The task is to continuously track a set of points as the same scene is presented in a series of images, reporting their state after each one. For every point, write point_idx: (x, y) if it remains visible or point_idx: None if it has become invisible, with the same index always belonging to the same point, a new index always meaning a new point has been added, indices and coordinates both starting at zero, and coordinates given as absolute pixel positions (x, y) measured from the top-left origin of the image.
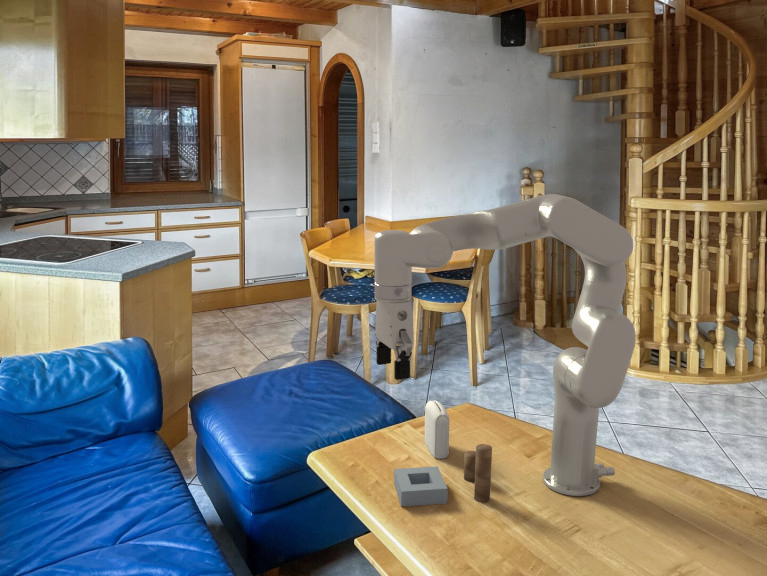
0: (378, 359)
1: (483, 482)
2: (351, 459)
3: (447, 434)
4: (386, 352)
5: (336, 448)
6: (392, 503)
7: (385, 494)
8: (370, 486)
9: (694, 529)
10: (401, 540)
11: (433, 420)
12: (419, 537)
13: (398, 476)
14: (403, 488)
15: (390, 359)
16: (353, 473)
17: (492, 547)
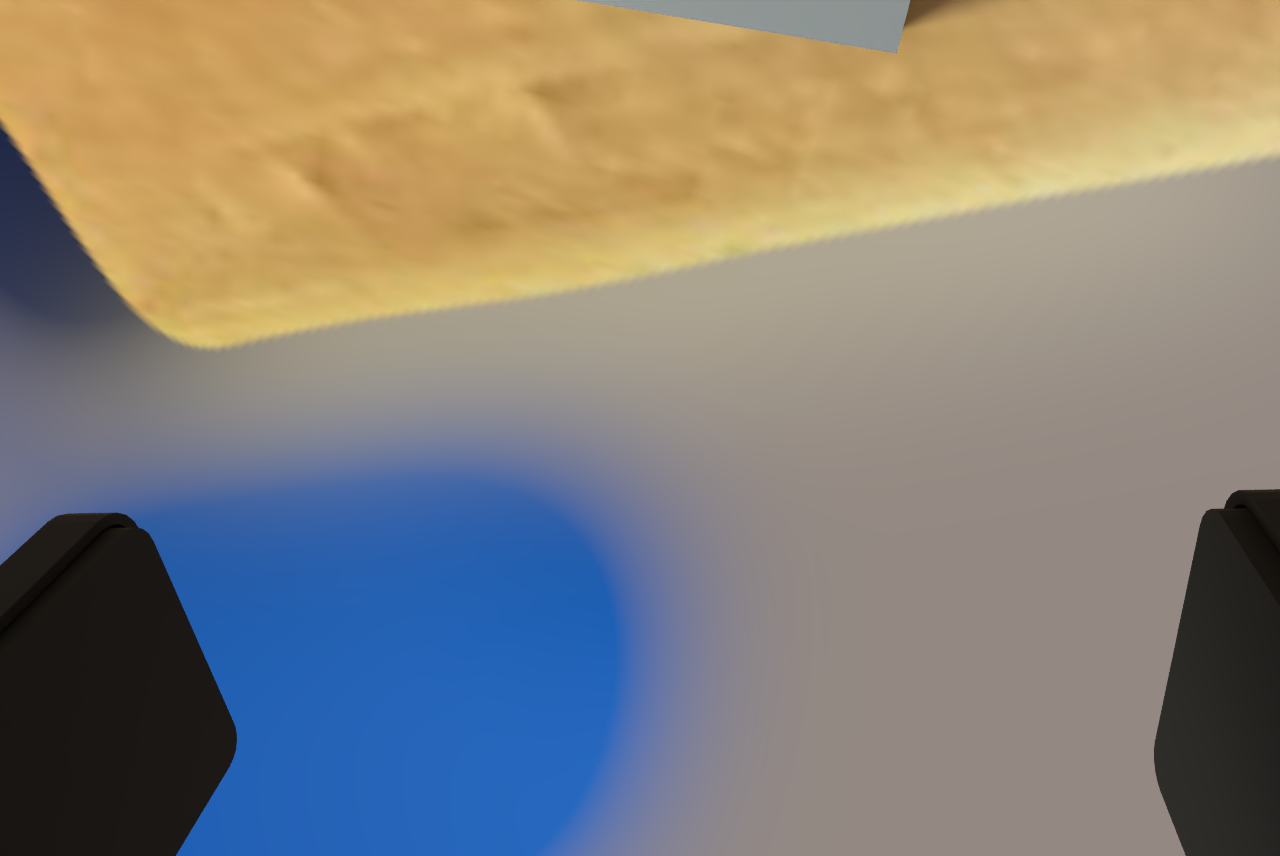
0: (179, 836)
1: None
2: (245, 168)
3: None
4: (5, 833)
5: (100, 219)
6: (829, 77)
7: (713, 87)
8: (595, 150)
9: None
10: (1227, 153)
11: None
12: (1261, 37)
13: (689, 4)
14: (862, 23)
15: (88, 581)
16: (421, 204)
17: None
